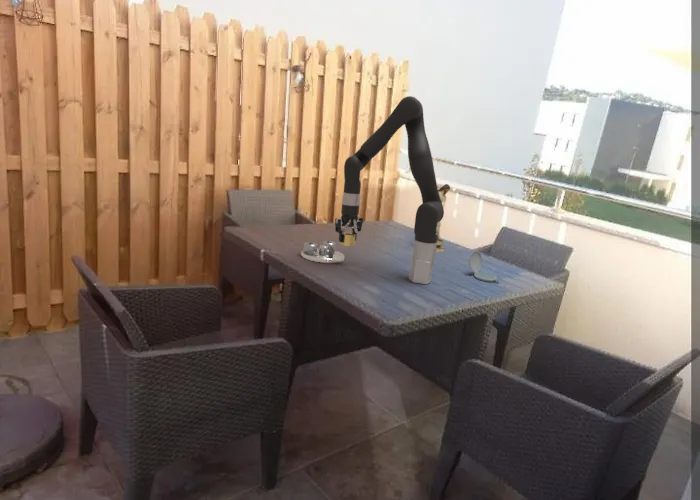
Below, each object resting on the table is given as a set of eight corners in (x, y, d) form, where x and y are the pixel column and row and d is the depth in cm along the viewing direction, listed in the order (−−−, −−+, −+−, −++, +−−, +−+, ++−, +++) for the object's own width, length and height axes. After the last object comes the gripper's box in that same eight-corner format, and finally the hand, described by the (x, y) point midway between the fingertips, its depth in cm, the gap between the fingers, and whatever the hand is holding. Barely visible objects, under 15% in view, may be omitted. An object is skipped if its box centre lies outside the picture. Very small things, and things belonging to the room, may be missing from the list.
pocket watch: (481, 249, 217) (510, 258, 206) (477, 272, 220) (505, 282, 209) (468, 251, 211) (497, 261, 200) (464, 274, 213) (492, 285, 203)
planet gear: (353, 246, 202) (354, 236, 201) (339, 245, 203) (340, 234, 202) (355, 243, 208) (355, 233, 207) (341, 241, 209) (342, 232, 207)
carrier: (341, 265, 206) (342, 251, 204) (296, 259, 207) (297, 245, 206) (346, 254, 225) (348, 241, 223) (305, 248, 227) (306, 235, 225)
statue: (443, 254, 246) (454, 187, 237) (410, 248, 251) (420, 182, 242) (447, 247, 262) (457, 184, 253) (416, 241, 267) (426, 179, 257)
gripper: (358, 201, 208) (354, 238, 213) (332, 202, 199) (329, 240, 204) (369, 204, 203) (365, 242, 207) (343, 205, 194) (339, 245, 198)
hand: (347, 241), depth 205 cm, fingers closed on planet gear, 6 cm apart
